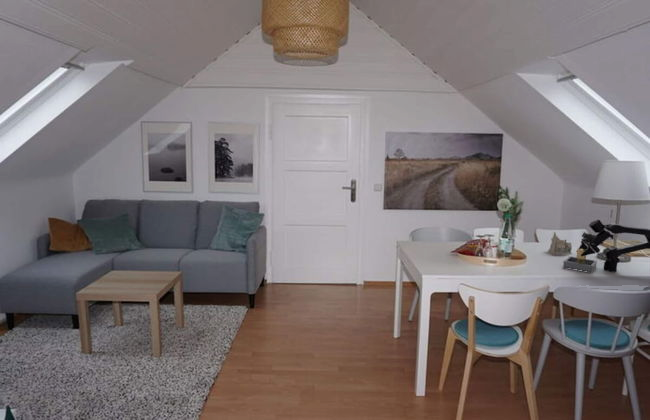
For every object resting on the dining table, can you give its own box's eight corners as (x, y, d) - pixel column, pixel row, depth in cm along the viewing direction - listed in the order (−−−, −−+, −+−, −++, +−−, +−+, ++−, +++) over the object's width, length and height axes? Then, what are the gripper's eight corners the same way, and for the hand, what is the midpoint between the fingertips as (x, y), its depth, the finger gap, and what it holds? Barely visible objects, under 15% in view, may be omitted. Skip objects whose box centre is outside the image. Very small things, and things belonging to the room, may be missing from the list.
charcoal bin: (596, 267, 299) (596, 260, 298) (591, 273, 287) (592, 266, 286) (568, 262, 309) (569, 256, 308) (563, 267, 297) (563, 261, 296)
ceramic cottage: (550, 254, 328) (554, 234, 325) (546, 250, 343) (549, 230, 341) (575, 258, 324) (578, 237, 322) (569, 253, 339) (573, 233, 337)
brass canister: (585, 266, 298) (587, 249, 296) (583, 267, 294) (585, 251, 292) (576, 264, 301) (578, 248, 299) (574, 266, 297) (576, 249, 295)
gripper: (586, 225, 302) (566, 241, 306) (596, 231, 284) (575, 247, 288) (598, 238, 301) (577, 253, 305) (609, 245, 283) (587, 261, 287)
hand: (579, 253), depth 297 cm, fingers open, 9 cm apart
